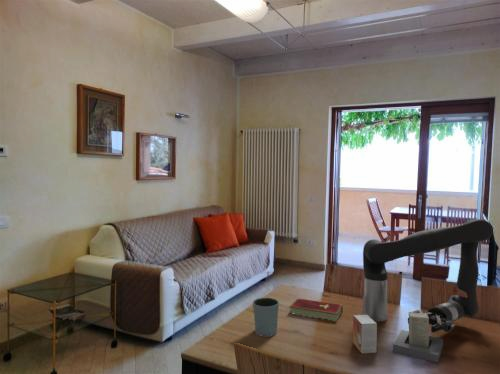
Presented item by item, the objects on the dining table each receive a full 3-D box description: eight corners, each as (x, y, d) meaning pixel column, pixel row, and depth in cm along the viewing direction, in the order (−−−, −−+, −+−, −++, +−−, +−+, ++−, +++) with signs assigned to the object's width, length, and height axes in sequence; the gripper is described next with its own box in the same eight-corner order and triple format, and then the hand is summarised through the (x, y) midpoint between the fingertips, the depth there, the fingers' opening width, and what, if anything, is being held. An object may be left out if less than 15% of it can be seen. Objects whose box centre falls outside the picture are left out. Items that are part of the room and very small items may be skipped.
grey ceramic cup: (282, 329, 144) (282, 299, 144) (273, 339, 135) (273, 308, 135) (259, 325, 149) (259, 296, 148) (248, 334, 139) (248, 304, 139)
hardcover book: (297, 306, 171) (297, 297, 171) (342, 313, 162) (342, 303, 162) (289, 315, 160) (289, 305, 160) (337, 323, 151) (337, 313, 151)
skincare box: (427, 346, 129) (427, 313, 129) (429, 352, 125) (429, 317, 125) (408, 344, 131) (408, 311, 131) (409, 349, 127) (409, 315, 127)
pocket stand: (392, 351, 126) (393, 344, 126) (401, 336, 138) (401, 329, 138) (438, 362, 118) (438, 355, 118) (442, 345, 130) (442, 339, 130)
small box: (352, 343, 132) (352, 314, 132) (367, 342, 133) (367, 314, 132) (361, 354, 124) (361, 323, 124) (376, 353, 125) (377, 323, 125)
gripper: (424, 299, 144) (401, 308, 134) (463, 310, 132) (440, 321, 123) (424, 318, 144) (401, 328, 134) (462, 331, 133) (440, 343, 123)
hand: (420, 325), depth 129 cm, fingers open, 8 cm apart
